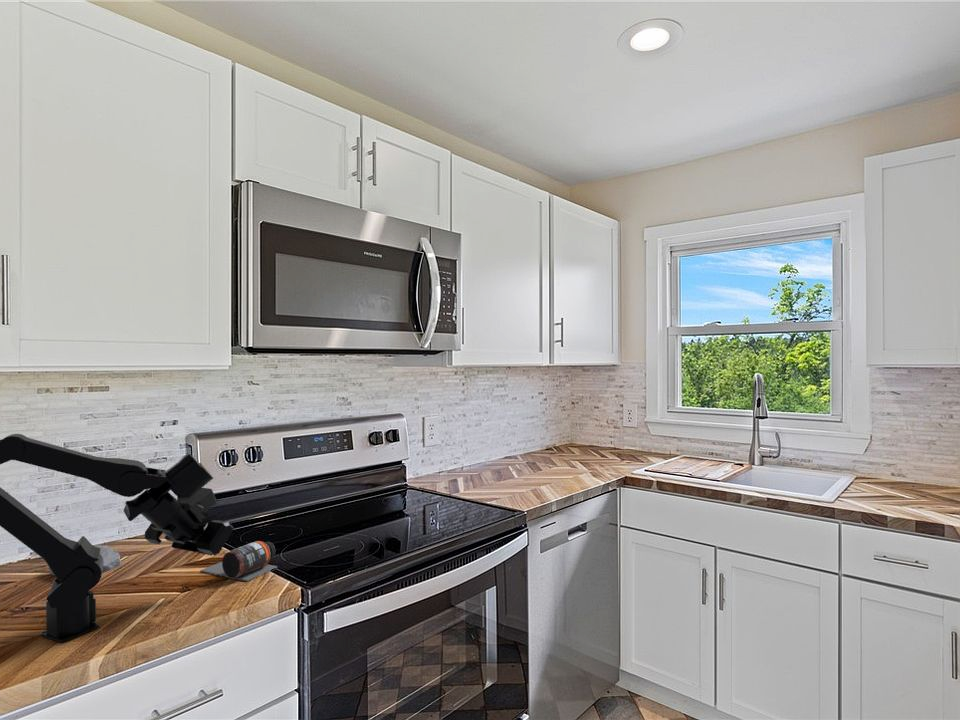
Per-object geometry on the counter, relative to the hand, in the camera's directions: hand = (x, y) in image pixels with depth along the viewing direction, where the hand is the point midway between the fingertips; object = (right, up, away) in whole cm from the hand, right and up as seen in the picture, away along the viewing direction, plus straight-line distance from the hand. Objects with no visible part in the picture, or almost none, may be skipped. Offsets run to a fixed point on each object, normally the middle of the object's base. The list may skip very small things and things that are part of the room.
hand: (212, 553), depth 123 cm
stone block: (-33, -8, +11) cm, 36 cm away
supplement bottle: (+2, -4, +5) cm, 7 cm away
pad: (+1, -8, +11) cm, 14 cm away
